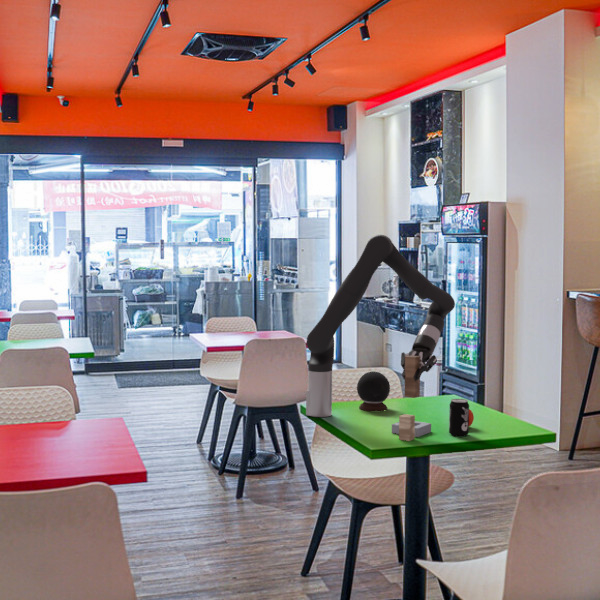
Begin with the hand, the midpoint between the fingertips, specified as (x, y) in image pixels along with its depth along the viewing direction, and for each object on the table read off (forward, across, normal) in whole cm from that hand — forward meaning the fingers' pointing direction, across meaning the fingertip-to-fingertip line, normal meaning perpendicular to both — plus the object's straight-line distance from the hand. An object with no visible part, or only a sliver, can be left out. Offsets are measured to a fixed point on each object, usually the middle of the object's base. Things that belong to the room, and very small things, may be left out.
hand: (409, 378), depth 273 cm
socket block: (+12, 0, +15) cm, 19 cm away
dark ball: (-7, -32, +34) cm, 48 cm away
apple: (-1, +10, +28) cm, 30 cm away
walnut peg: (+3, 0, +6) cm, 7 cm away
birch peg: (+19, +4, +8) cm, 21 cm away
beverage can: (+7, +14, +20) cm, 26 cm away
